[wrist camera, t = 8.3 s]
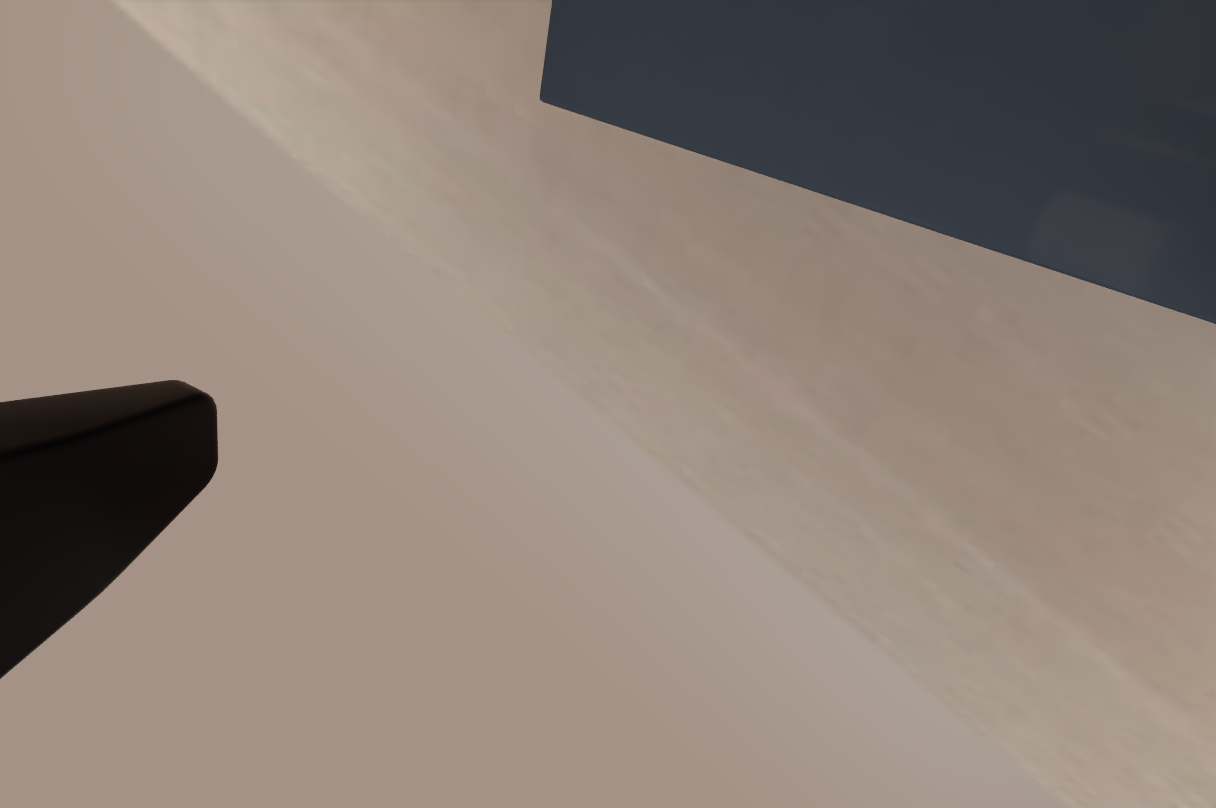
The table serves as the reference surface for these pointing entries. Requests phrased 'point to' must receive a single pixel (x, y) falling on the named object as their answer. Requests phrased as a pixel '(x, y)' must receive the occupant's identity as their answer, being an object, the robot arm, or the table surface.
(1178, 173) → the shelf
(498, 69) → the table surface
